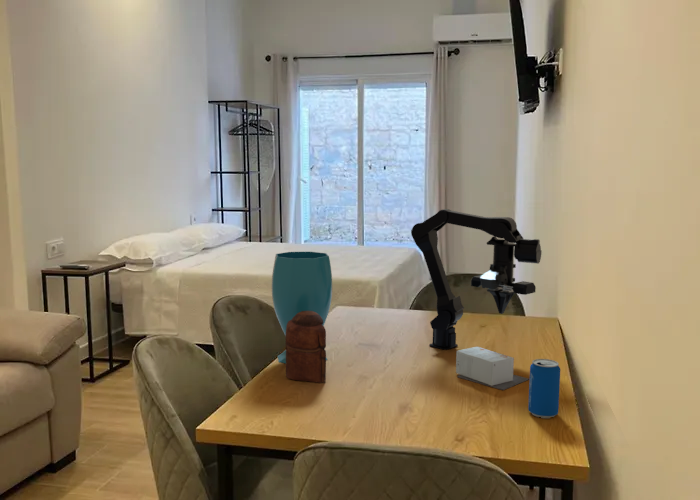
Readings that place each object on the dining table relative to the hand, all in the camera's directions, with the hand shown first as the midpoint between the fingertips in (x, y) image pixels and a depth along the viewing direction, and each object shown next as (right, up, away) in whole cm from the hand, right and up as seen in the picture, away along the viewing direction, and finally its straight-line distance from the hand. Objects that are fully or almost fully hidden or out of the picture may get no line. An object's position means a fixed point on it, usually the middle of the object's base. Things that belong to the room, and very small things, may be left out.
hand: (501, 313), depth 192 cm
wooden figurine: (-56, -15, -21) cm, 62 cm away
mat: (-7, -15, -20) cm, 26 cm away
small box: (-13, -11, -15) cm, 23 cm away
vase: (-58, -13, -3) cm, 60 cm away
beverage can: (-1, -19, -45) cm, 48 cm away
